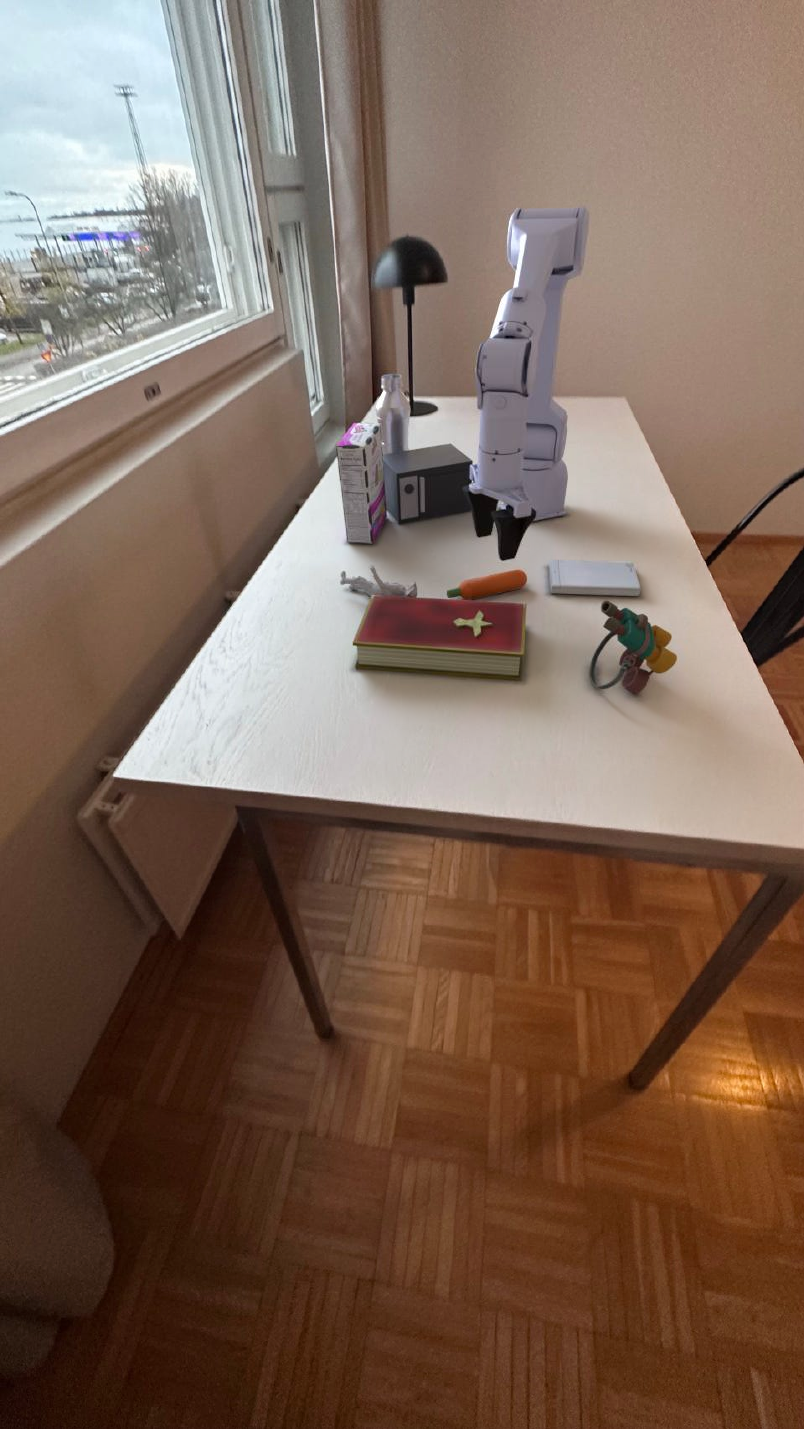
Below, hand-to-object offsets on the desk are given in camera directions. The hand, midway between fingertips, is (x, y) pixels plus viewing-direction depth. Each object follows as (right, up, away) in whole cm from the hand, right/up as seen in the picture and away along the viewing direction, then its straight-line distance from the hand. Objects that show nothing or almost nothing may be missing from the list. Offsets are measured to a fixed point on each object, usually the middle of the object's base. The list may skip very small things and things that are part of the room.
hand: (495, 546), depth 89 cm
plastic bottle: (-14, +21, +37) cm, 45 cm away
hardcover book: (-8, -15, -5) cm, 17 cm away
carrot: (0, -5, +5) cm, 7 cm away
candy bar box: (-19, +9, +23) cm, 31 cm away
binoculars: (+14, -19, -12) cm, 27 cm away
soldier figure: (-16, -6, +5) cm, 18 cm away
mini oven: (-9, +15, +29) cm, 34 cm away
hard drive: (+15, -4, +6) cm, 17 cm away
